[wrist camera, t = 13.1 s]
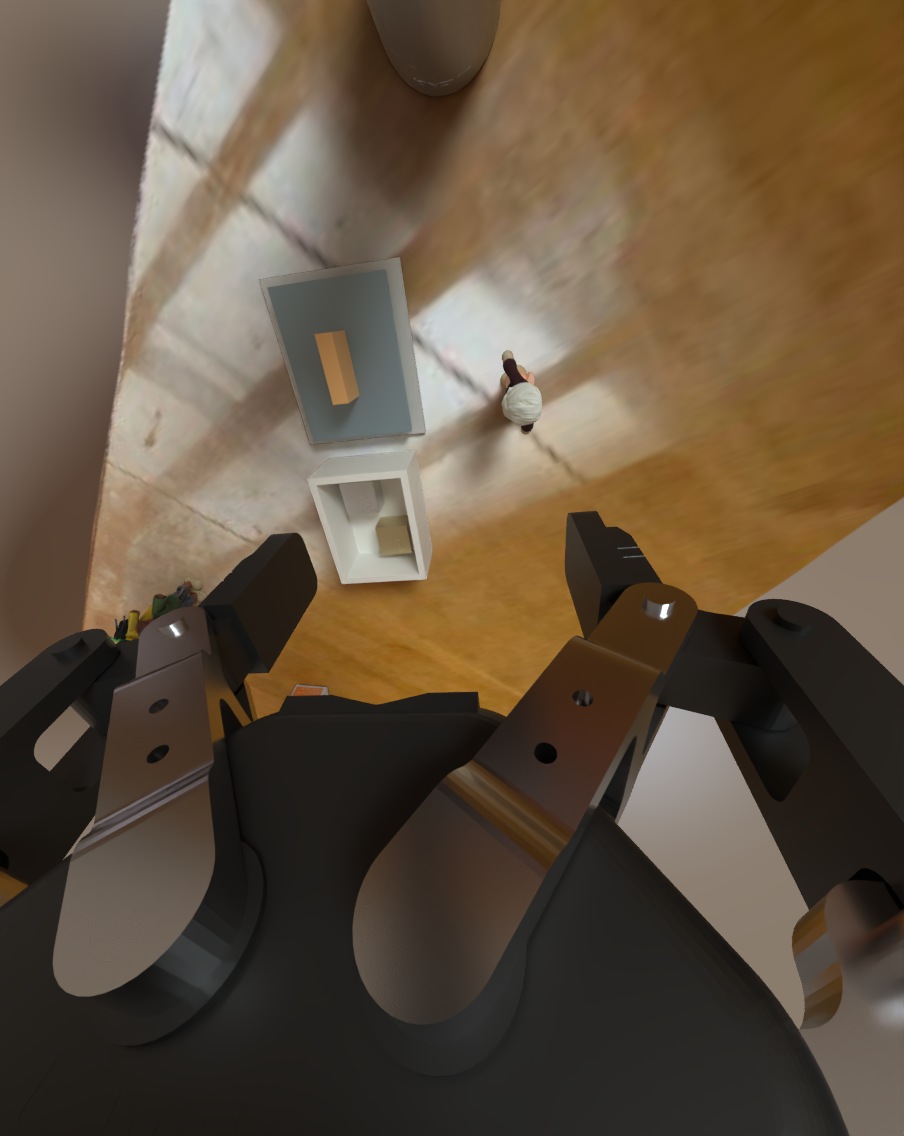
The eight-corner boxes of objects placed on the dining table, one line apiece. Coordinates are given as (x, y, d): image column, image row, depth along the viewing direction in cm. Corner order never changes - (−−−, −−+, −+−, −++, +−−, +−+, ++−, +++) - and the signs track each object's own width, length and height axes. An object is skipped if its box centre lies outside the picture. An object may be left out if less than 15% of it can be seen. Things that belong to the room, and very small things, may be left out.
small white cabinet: (328, 458, 48) (306, 478, 42) (416, 450, 46) (406, 469, 41) (356, 555, 55) (341, 584, 49) (432, 550, 54) (426, 579, 48)
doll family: (227, 671, 71) (180, 737, 60) (178, 664, 71) (122, 729, 60) (199, 568, 59) (132, 627, 47) (139, 559, 58) (57, 617, 47)
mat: (261, 279, 38) (258, 279, 38) (400, 257, 37) (399, 257, 36) (311, 443, 47) (310, 444, 46) (425, 431, 45) (425, 432, 45)
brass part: (380, 517, 51) (375, 527, 48) (410, 514, 50) (406, 525, 48) (386, 543, 53) (381, 555, 50) (415, 541, 52) (411, 553, 50)
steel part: (346, 475, 48) (338, 484, 45) (377, 472, 47) (371, 481, 45) (354, 504, 50) (347, 515, 48) (384, 502, 50) (379, 512, 47)
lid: (275, 288, 38) (245, 285, 33) (388, 271, 37) (373, 264, 32) (319, 437, 46) (300, 452, 41) (413, 427, 45) (405, 441, 40)
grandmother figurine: (547, 406, 43) (568, 437, 32) (516, 424, 44) (526, 460, 34) (515, 337, 39) (527, 346, 29) (482, 359, 41) (482, 376, 30)
